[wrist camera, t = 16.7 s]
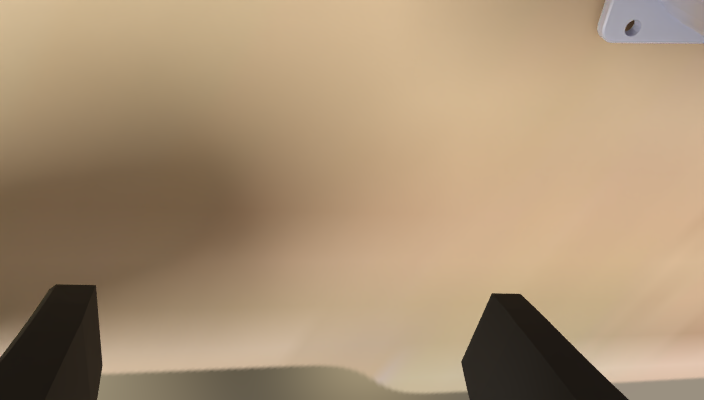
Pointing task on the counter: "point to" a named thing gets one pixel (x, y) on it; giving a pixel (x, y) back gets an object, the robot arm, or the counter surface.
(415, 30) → the counter surface
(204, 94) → the counter surface
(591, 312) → the counter surface
